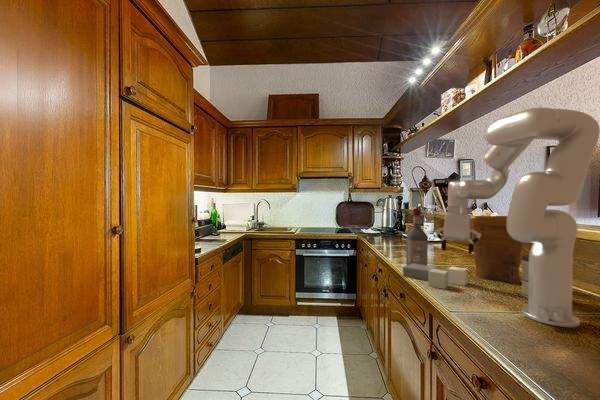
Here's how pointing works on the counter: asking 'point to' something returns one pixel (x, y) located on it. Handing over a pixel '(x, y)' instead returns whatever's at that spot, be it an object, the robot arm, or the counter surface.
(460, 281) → the cream block
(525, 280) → the coffee can
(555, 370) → the counter surface
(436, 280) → the sage block
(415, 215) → the liquor
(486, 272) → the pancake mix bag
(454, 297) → the counter surface
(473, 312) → the counter surface
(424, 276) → the pedestal
